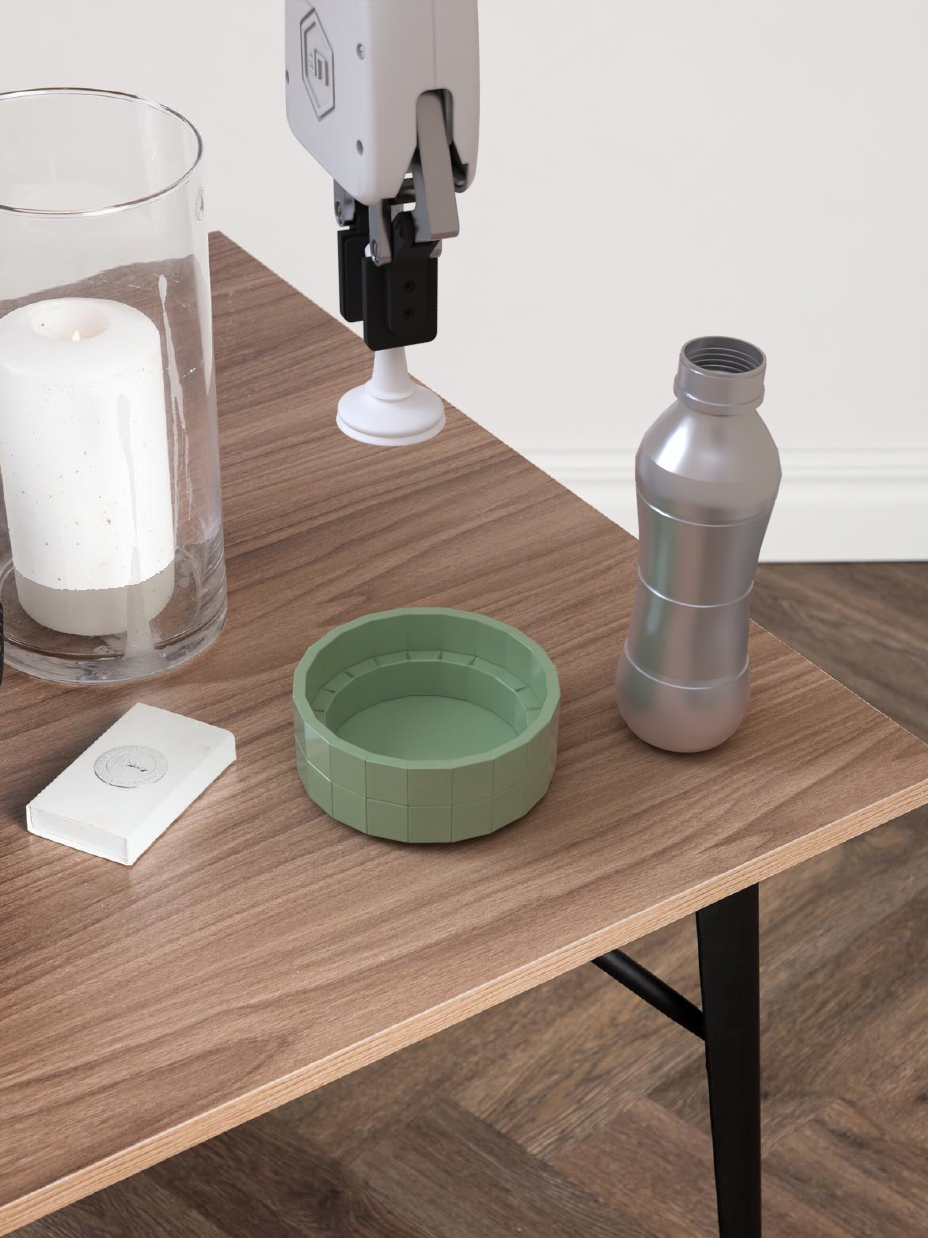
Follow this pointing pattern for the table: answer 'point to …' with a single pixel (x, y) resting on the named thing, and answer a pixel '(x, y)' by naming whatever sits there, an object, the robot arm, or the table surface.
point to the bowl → (426, 724)
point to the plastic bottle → (698, 550)
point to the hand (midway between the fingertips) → (388, 326)
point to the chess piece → (390, 402)
